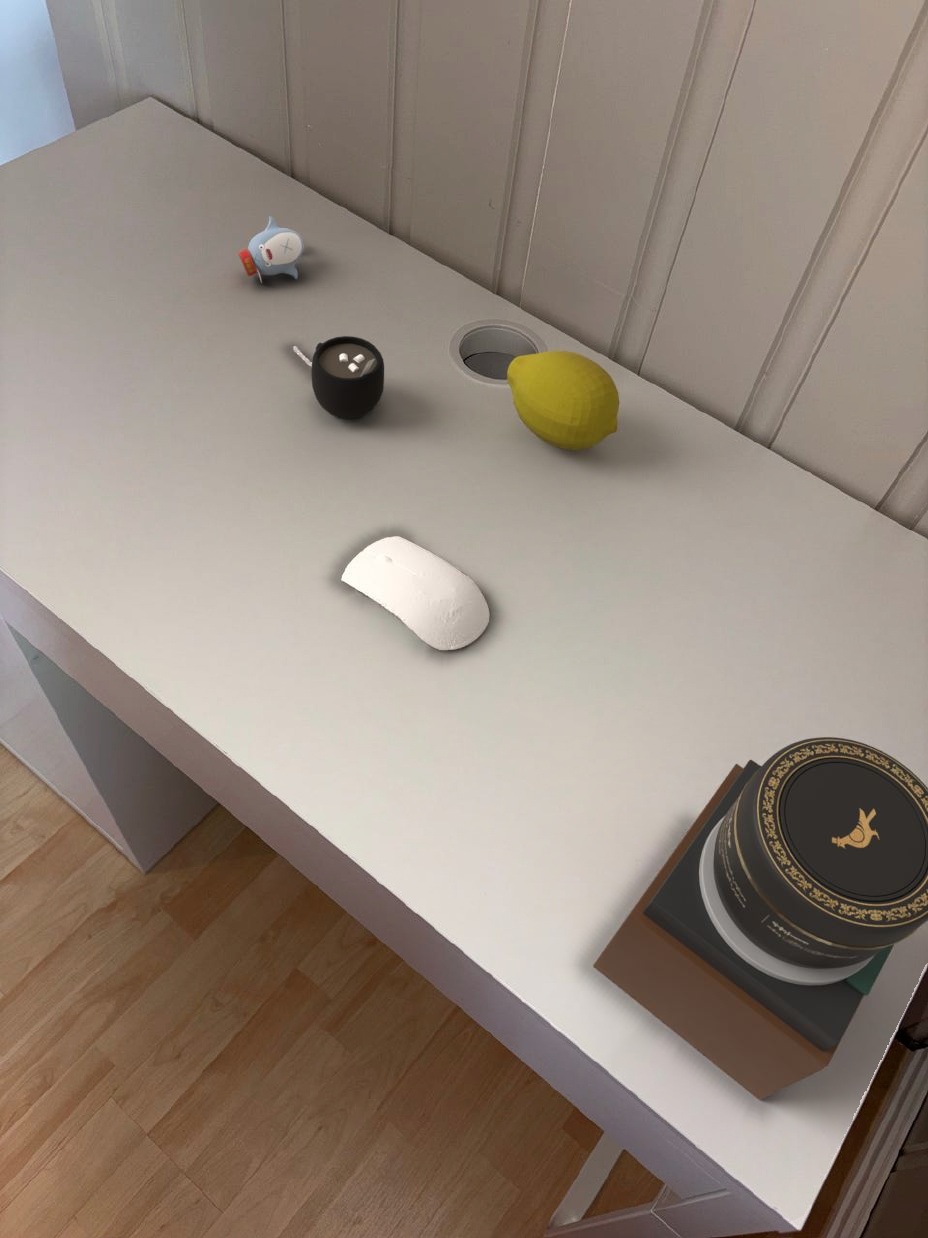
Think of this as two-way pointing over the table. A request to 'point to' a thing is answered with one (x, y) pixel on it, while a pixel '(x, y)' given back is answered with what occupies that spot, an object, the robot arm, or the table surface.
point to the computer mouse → (420, 592)
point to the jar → (826, 854)
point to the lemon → (564, 398)
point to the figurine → (273, 251)
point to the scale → (729, 970)
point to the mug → (347, 376)
